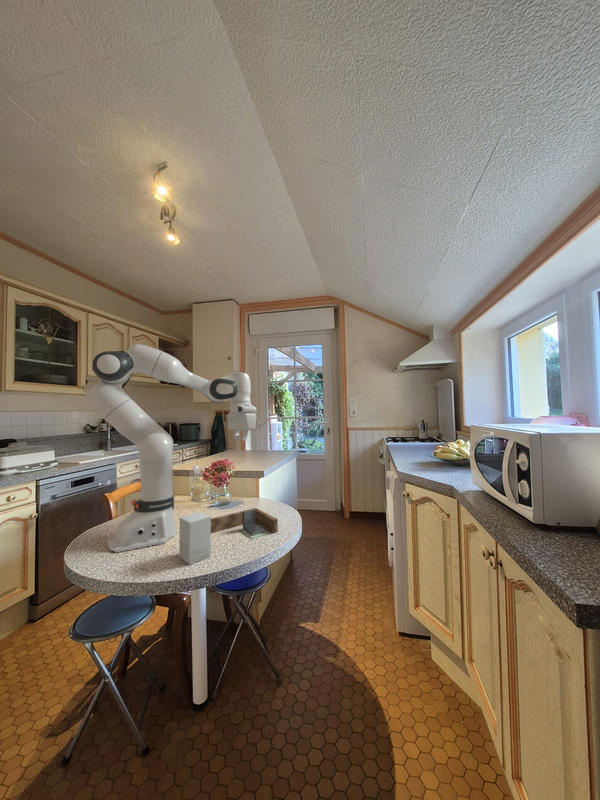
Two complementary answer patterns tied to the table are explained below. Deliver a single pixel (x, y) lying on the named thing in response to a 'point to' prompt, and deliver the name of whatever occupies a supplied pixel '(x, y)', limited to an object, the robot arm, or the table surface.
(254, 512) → the bracket
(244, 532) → the mat
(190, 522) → the supplement box
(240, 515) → the wooden corner frame
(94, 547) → the table surface
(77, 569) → the table surface
